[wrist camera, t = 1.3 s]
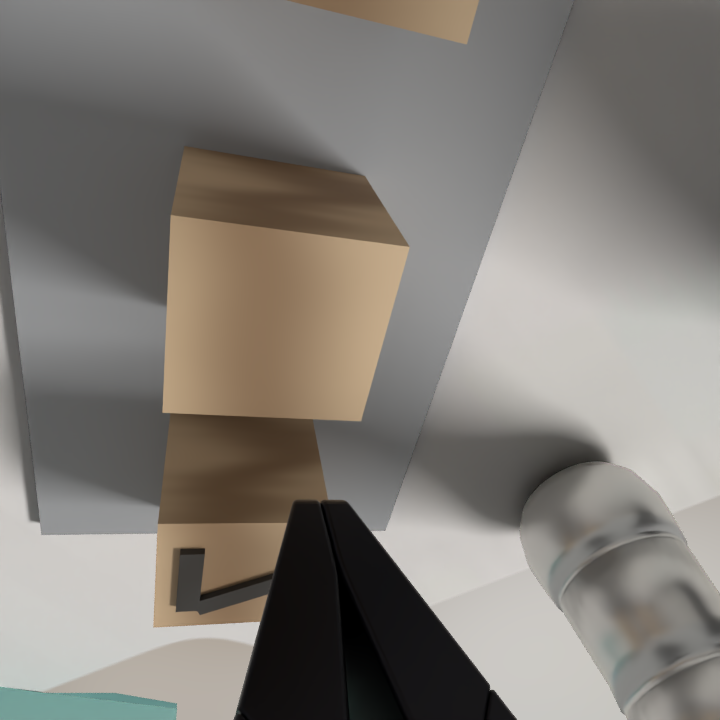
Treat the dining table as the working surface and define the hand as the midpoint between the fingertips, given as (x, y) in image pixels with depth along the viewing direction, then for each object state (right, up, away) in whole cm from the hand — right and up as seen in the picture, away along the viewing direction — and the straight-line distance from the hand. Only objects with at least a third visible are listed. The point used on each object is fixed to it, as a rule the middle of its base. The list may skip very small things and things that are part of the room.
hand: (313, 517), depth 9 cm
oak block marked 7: (-4, -2, +13) cm, 14 cm away
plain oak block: (-2, +6, +8) cm, 10 cm away
